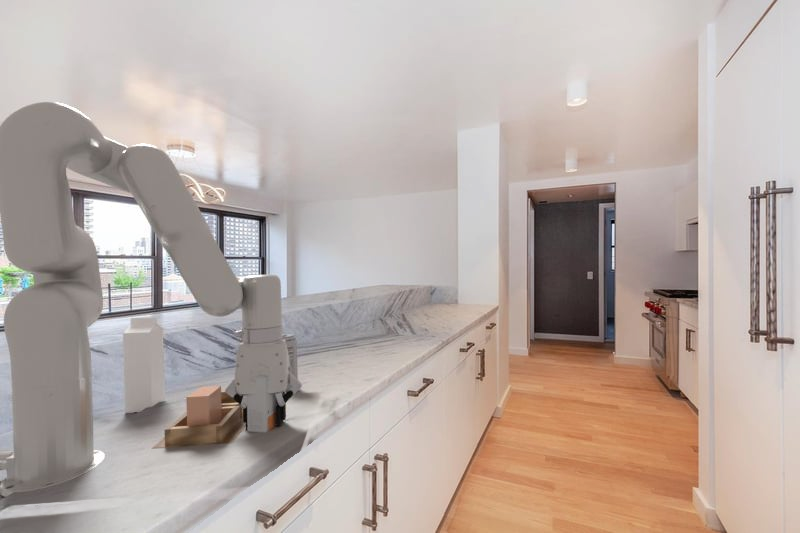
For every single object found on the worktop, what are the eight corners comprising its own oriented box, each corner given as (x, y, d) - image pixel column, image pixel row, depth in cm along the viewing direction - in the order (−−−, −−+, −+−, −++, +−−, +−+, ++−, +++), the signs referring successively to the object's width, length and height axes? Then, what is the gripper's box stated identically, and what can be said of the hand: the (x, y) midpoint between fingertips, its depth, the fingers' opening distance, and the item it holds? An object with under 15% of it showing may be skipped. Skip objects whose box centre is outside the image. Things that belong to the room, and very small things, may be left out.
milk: (151, 412, 87) (149, 318, 87) (124, 413, 87) (122, 319, 87) (165, 402, 93) (163, 315, 93) (140, 404, 93) (137, 316, 93)
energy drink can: (301, 387, 103) (299, 333, 103) (292, 394, 97) (291, 337, 97) (280, 387, 103) (279, 333, 103) (270, 394, 97) (269, 337, 97)
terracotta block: (187, 439, 69) (186, 397, 69) (201, 426, 75) (200, 387, 75) (209, 438, 70) (208, 395, 70) (221, 424, 76) (220, 385, 76)
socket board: (151, 454, 66) (151, 431, 66) (204, 408, 88) (204, 391, 88) (232, 449, 68) (232, 426, 68) (265, 404, 90) (264, 387, 90)
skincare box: (266, 438, 72) (265, 376, 72) (247, 437, 73) (245, 376, 73) (282, 425, 78) (281, 368, 78) (264, 424, 78) (262, 367, 78)
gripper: (211, 340, 71) (213, 435, 71) (302, 336, 72) (305, 429, 72) (226, 333, 78) (228, 419, 78) (308, 330, 80) (310, 414, 80)
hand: (265, 423), depth 75 cm, fingers closed on skincare box, 5 cm apart
